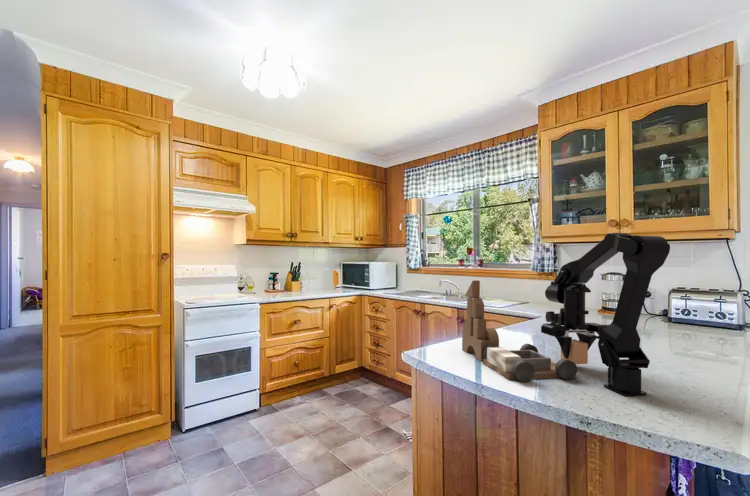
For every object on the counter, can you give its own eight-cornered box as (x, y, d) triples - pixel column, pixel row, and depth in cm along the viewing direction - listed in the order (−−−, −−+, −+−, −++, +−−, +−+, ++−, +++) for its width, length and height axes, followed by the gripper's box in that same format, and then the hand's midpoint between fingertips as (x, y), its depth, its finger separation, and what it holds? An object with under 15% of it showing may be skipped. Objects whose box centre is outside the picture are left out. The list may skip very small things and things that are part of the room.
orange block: (587, 363, 103) (587, 343, 103) (572, 364, 102) (572, 343, 102) (574, 358, 108) (575, 339, 108) (560, 359, 107) (560, 339, 107)
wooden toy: (500, 361, 110) (501, 282, 111) (480, 361, 109) (481, 282, 110) (477, 348, 126) (478, 278, 126) (459, 348, 124) (460, 278, 125)
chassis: (580, 379, 95) (580, 359, 95) (513, 382, 91) (513, 361, 91) (536, 359, 113) (536, 342, 113) (479, 361, 109) (479, 344, 109)
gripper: (580, 302, 115) (580, 350, 115) (530, 302, 112) (529, 351, 111) (609, 307, 104) (609, 360, 104) (554, 307, 101) (553, 362, 100)
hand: (574, 358), depth 105 cm, fingers closed on orange block, 5 cm apart
